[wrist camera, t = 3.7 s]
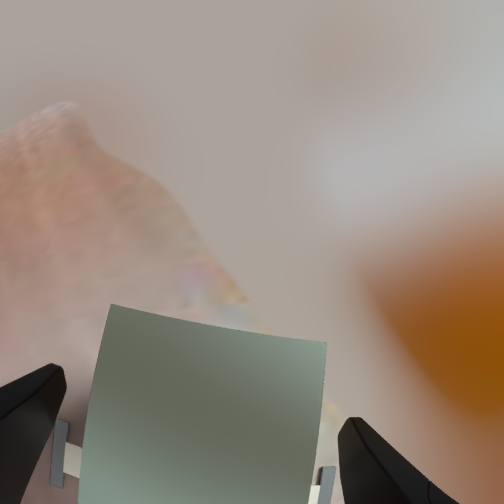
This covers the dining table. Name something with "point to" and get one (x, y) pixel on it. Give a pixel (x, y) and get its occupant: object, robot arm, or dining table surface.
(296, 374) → the beige tall block
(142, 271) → the dining table surface
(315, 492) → the tape line
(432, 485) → the robot arm
